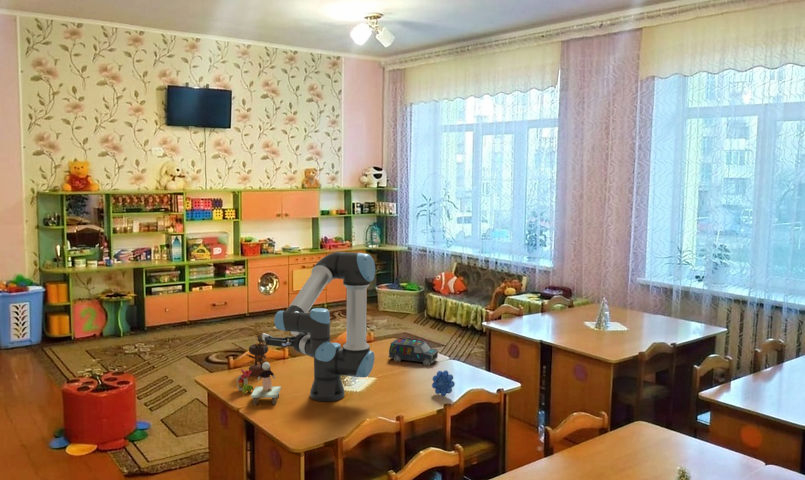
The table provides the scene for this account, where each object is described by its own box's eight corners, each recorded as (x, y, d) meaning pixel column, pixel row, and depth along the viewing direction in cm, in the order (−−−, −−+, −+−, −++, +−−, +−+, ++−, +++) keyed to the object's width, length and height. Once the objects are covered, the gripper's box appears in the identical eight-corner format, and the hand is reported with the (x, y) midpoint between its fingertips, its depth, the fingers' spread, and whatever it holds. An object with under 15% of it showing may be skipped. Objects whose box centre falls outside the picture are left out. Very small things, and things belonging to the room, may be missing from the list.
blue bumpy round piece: (459, 396, 294) (459, 370, 293) (451, 400, 289) (451, 373, 288) (437, 390, 301) (437, 365, 300) (429, 394, 296) (429, 368, 294)
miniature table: (280, 396, 292) (280, 386, 291) (277, 405, 281) (277, 395, 280) (255, 396, 292) (255, 386, 291) (251, 405, 281) (250, 395, 280)
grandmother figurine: (271, 387, 290) (271, 359, 288) (276, 390, 287) (275, 361, 285) (256, 391, 285) (255, 363, 283) (260, 394, 282) (260, 365, 280)
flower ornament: (234, 397, 296) (246, 393, 291) (227, 373, 297) (239, 369, 292) (245, 393, 301) (257, 389, 296) (238, 370, 302) (250, 365, 297)
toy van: (432, 366, 337) (432, 347, 336) (387, 360, 346) (387, 342, 345) (438, 360, 347) (439, 342, 346) (395, 355, 356) (395, 337, 355)
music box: (278, 373, 323) (275, 334, 319) (261, 381, 314) (257, 341, 310) (257, 367, 332) (253, 329, 328) (240, 374, 323) (236, 335, 319)
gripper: (278, 359, 252) (251, 347, 267) (332, 347, 268) (303, 336, 284) (278, 340, 251) (250, 329, 266) (331, 329, 267) (302, 319, 283)
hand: (277, 333), depth 275 cm, fingers open, 13 cm apart
